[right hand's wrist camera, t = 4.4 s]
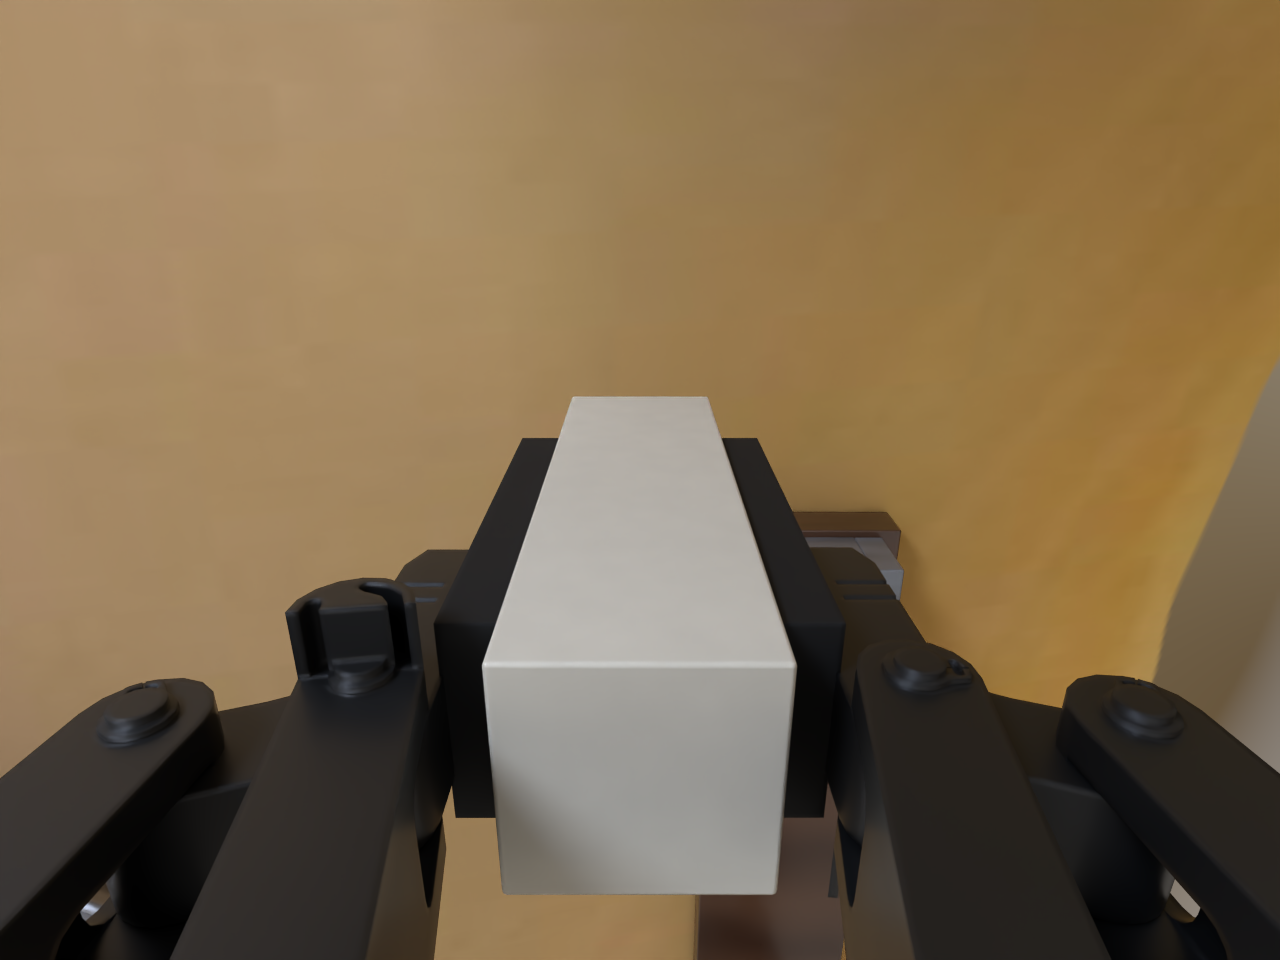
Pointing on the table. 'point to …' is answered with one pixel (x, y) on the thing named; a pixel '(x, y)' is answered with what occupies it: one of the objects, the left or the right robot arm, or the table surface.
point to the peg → (639, 669)
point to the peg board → (800, 909)
